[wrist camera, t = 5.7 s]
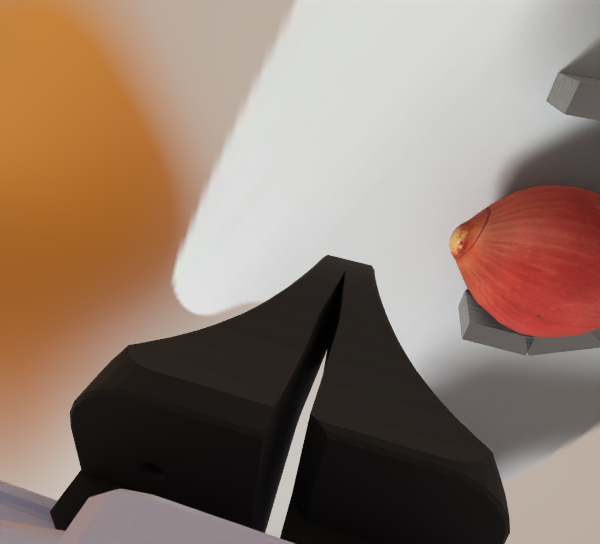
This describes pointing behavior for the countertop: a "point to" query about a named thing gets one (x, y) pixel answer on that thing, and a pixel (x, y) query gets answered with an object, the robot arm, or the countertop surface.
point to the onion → (535, 260)
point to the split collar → (473, 317)
